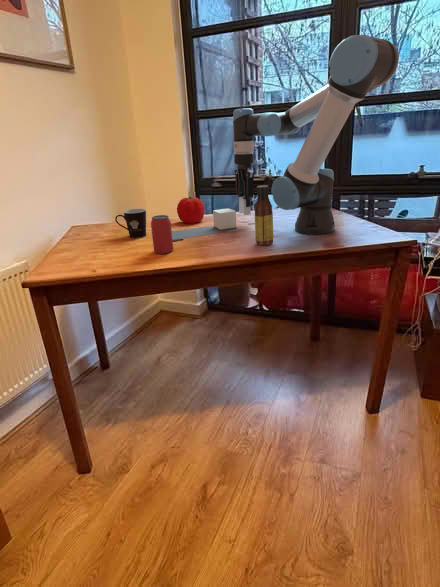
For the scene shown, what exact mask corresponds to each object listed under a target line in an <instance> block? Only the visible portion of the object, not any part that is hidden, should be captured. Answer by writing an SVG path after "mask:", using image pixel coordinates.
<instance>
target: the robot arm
mask: <svg viewBox="0 0 440 587" xmlns="http://www.w3.org/2000/svg"><path fill="white" fill-rule="evenodd" d="M328 64H329V65H328V67H329V70H328V72H329V75H330V76H329V78H328V80H327V84H326V85H325V86H323V87H322V88H320V89H318V90H317V91H315V92H314V93H312V94H310V95H308V97H305V98H304V99H303V100H302V101H300V102H298V103H297V104H295V105H293V106H292V107H291V108H289V109H288V110H286V111H284V112H261V113H254V108H253V109H252V108H247V107H246V108H236V109H234V111H233V113H232V114H233V115H232V116H233V117H232V118H233V119H232V128H233V145H232V147H233V153H234V156H233V159H234V160H233V163H234V164H235V165H237V169H234V175H235V176H234V177H235V178H234V179H235V180H234V181H235V194H236V195H237V196H238V213H239V214H243V216H249V215H252V212H251V199H252V198H254V189H255V188H254V185H255V184H254V182H255V181H254V178H255V171H252V169H251V165H252V164H254V163H255V162H254V160H255V159H254V157H255V156H254V150H255V149H254V148H255V146H254V144H255V143H254V142H255V141H254V137H272V136H281V135H282V136H283V135H284V136H285V135H286V136H287V135H290V136H291V135H293V134H296V133H298V132H299V131H300V130H301V128H302V127H304V126H305V125H306V124H308V123H310V122H312V121H313V123H312V125H311V127H310V130H309V132H308V134H307V135H306V137H305V140H304V142H303V143H302V146H301V148H300V150H299V152H298V155H297V156H296V159H295V160H294V162H291V163H289V164H288V165H287V166H286V169H285V170H284V173H283V175H281V176H278V177H277V178H275V179H274V180H273V182H272V186H271V195H272V200H273V202H274V203H275V205H276V206H277V207H278V208H280V209H282V210H284V211H289V210H293V211H294V210H296V209H299V208H300V209H299V211H298V212H299V213H298V214H297V216H296V217H297V218H296V221H295V224H294V231H296V232H298V233H300V234H304V235H305V234H306V235H323V234H324V235H325V234H330V233H333V232H334V231H335V229H336V224H335V218H334V215H333V211H332V210H333V209H332V206H333V205H332V204H333V193H334V182H335V173H334V170H333V169H331V168H322V165H323V164H324V162H325V161H326V159H327V157H328V155H329V153H330V151H331V149H332V147H333V146H334V144H335V142H336V140H337V138H338V136H339V135H340V132H341V131H342V129H343V127H344V126H345V124H346V122H347V120H348V118H349V116H350V114H351V112H352V111H353V109H354V107H355V105H356V104H357V103H358V102H361V101H363V100H365V98H366V96H367V94H368V93H369V92H372V91H373V90H376V89H378V88H379V87H382V86H383V85H384V84H385V83H387V82H388V81H389V80H391V79H392V77H393V76H394V74H395V73H396V71H397V68H398V65H399V54H398V50H397V47H396V45H394V44H393V43H392V42H391V41H389V40H387V39H383V38H378V37H374V36H369V35H367V34H354V35H350V36H348V37H346V38H344V39H342V41H341V42H339V44H337V46H336V47H335V48H334V50H333V52H332V53H331V56H330V59H329V63H328Z"/></svg>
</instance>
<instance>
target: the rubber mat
mask: <svg viewBox="0 0 440 587" xmlns="http://www.w3.org/2000/svg"><path fill="white" fill-rule="evenodd" d="M239 231H240V228H237V227H236V229H231V230H224V231H219V230H218V229H216V228H214V225H208V226H202V227H201V226H200V227H194V228H187V229H180V230H179V229H178V230H172V241H173V243H174V242H179V241H184V239H191V238H197V237H198V238H199V237H205V236H210V235H219V234H225V233H231V232H239Z"/></svg>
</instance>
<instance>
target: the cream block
mask: <svg viewBox="0 0 440 587" xmlns="http://www.w3.org/2000/svg"><path fill="white" fill-rule="evenodd" d="M212 213H213V214H212V217H213V226H214V228H216V229H218V230H219V231H224V230H231V229H236V228H237V211H236V210H234V209H231V208H222V209H213V210H212Z"/></svg>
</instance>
